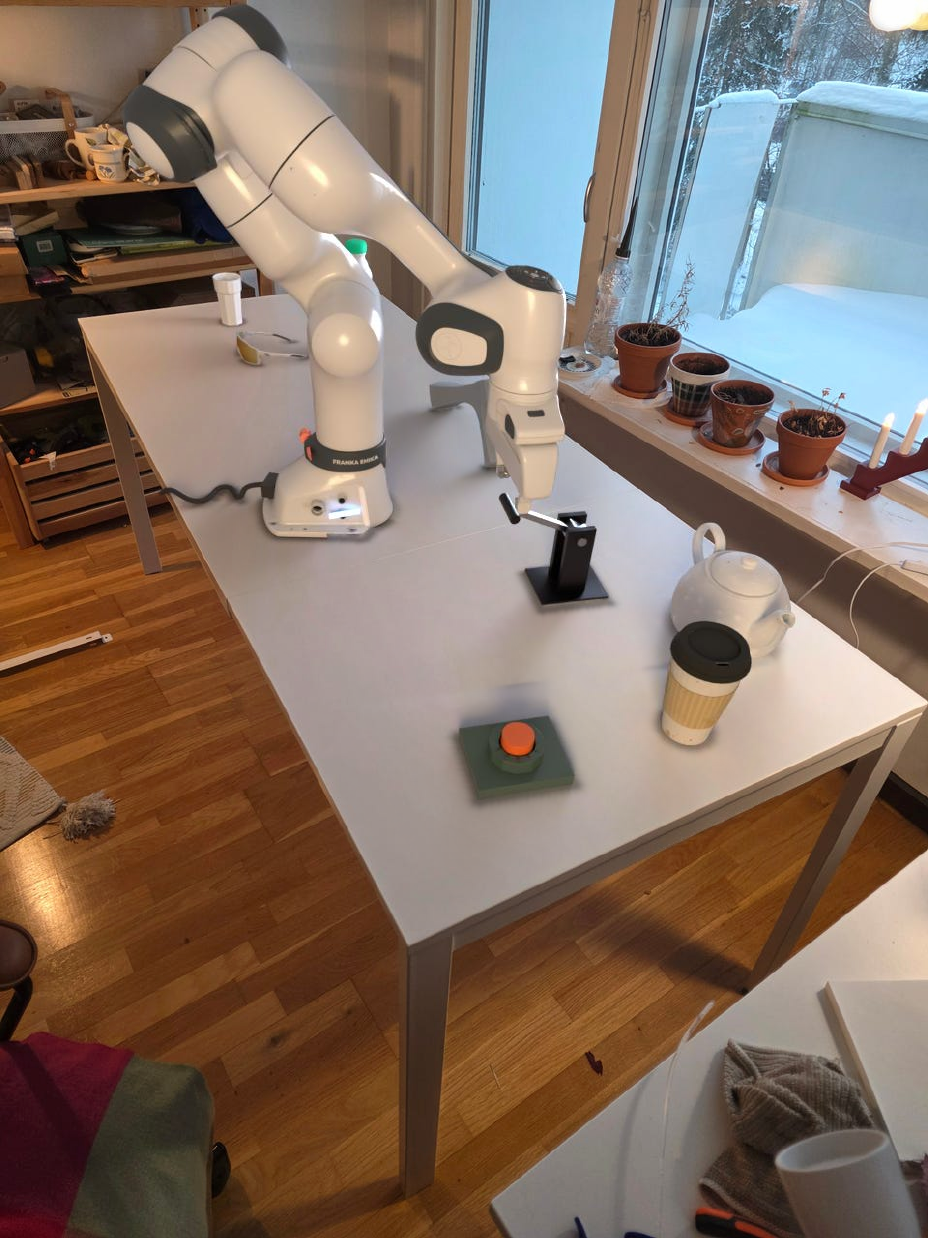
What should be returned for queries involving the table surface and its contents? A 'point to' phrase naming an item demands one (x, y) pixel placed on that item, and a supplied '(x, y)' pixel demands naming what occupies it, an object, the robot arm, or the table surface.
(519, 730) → the button
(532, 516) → the tap lever
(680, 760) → the table surface
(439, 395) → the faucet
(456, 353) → the robot arm
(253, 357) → the sunglasses
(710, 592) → the teapot
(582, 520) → the lever stand
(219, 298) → the cup
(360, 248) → the water bottle
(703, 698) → the coffee cup
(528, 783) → the button box
